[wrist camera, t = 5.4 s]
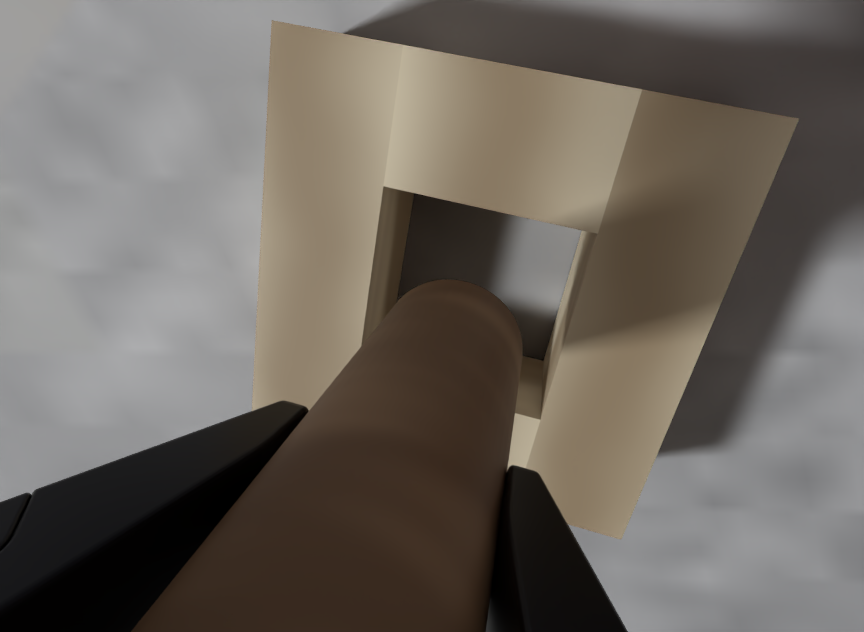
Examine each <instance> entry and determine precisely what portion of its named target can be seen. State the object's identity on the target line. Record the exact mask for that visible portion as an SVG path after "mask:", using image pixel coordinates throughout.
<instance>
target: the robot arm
mask: <svg viewBox="0 0 864 632" xmlns="http://www.w3.org/2000/svg"><path fill="white" fill-rule="evenodd" d="M308 412H309V410H308V408H307V407H306V406H303V405H300V404H296V403H293V402H289V401H285V400H282V401H278V402H275V403H273V404H270V405H267V406H264V407H262V408H259V409H256V410H253V411H251V412H248V413H245V414H242V415H240V416H237V417H234V418H231V419H229V420H226V421H223V422H220V423H218V424H215V425H212V426H209V427H207V428H204V429H201V430H198V431H196V432H193V433H190V434H187V435H185V436H182V437H179V438H176V439H174V440H171V441H168V442H165V443H163V444H160V445H157V446H154V447H152V448H149V449H146V450H143V451H141V452H138V453H135V454H132V455H130V456H127V457H124V458H121V459H119V460H116V461H113V462H110V463H108V464H105V465H102V466H99V467H96V468H94V469H91V470H88V471H85V472H83V473H80V474H77V475H74V476H72V477H69V478H66V479H63V480H61V481H58V482H55V483H52V484H50V485H47V486H44V487H41V488H38V489H36V490H35V491H34V492H33V493H32V495H31V494H30V493H24V494H22V495H19V496H16V497H13V498H11V499H8V500H5V501H2V502H0V632H131V631H132V630H133V628H134V627H135V626H136V625H137V623H138V622H139V621H140V620H141V618H142V617H143V616H144V615H145V614H146V612H147V611H148V610H149V609H150V607H151V606H152V605H153V604H154V602H155V601H156V600H157V599H158V597H159V596H160V595H161V594H162V592H163V591H164V590H165V589H166V588H167V586H168V585H169V584H170V583H171V581H172V580H173V579H174V578H175V576H176V575H177V574H178V573H179V571H180V570H181V569H182V568H183V566H184V565H185V564H186V563H187V562H188V560H189V559H190V558H191V557H192V555H193V554H194V553H195V552H196V550H197V549H198V548H199V547H200V545H201V544H202V543H203V542H204V540H205V539H206V538H207V537H208V536H209V534H210V533H211V532H212V531H213V529H214V528H215V527H216V526H217V524H218V523H219V522H220V521H221V519H222V518H223V517H224V516H225V514H226V513H227V512H228V511H229V510H230V508H231V507H232V506H233V505H234V503H235V502H236V501H237V500H238V498H239V497H240V496H241V495H242V493H243V492H244V491H245V490H246V488H247V487H248V486H249V485H250V484H251V482H252V481H253V480H254V479H255V477H256V476H257V475H258V474H259V472H260V471H261V470H262V469H263V467H264V466H265V465H266V464H267V462H268V461H269V460H270V459H271V458H272V456H273V455H274V454H275V453H276V451H277V450H278V449H279V448H280V446H281V445H282V444H283V443H284V441H285V440H286V439H287V438H288V436H289V435H290V434H291V433H292V432H293V430H294V429H295V428H296V427H297V425H298V424H299V423H300V422H301V420H302V419H303V418H304V417H305V415H306V414H307V413H308ZM486 632H628V631H627V629H626V628H625V626H624V624H623V622H622V621H621V619H620V617H619V615H618V613H617V612H616V610H615V608H614V606H613V604H612V603H611V601H610V599H609V597H608V596H607V594H606V592H605V590H604V588H603V587H602V585H601V583H600V581H599V579H598V578H597V576H596V574H595V572H594V570H593V569H592V567H591V565H590V563H589V562H588V560H587V558H586V556H585V554H584V553H583V551H582V549H581V547H580V545H579V544H578V542H577V540H576V538H575V537H574V535H573V533H572V531H571V529H570V528H569V526H568V524H567V522H566V520H565V519H564V517H563V515H562V513H561V511H560V510H559V508H558V506H557V504H556V503H555V501H554V499H553V497H552V495H551V494H550V492H549V490H548V488H547V486H546V485H545V483H544V481H543V479H542V478H541V476H540V474H539V473H538V472H536V471H534V470H530V469H527V468H523V467H519V466H516V465H511V466H510V467H509V468H508V470H507V473H506V480H505V487H504V495H503V502H502V509H501V517H500V524H499V532H498V539H497V548H496V557H495V566H494V573H493V581H492V588H491V596H490V603H489V611H488V618H487V626H486Z"/></svg>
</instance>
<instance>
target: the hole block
mask: <svg viewBox="0 0 864 632" xmlns="http://www.w3.org/2000/svg"><path fill="white" fill-rule="evenodd" d="M798 121H799V119H798V118H793V117H787V116H782V115H777V114H771V113H766V112H760V111H755V110H750V109H744V108H739V107H734V106H728V105H723V104H718V103H712V102H707V101H701V100H696V99H691V98H685V97H680V96H675V95H669V94H664V93H659V92H653V91H648V90H643V89H637V88H632V87H626V86H621V85H616V84H610V83H605V82H600V81H594V80H589V79H584V78H578V77H573V76H567V75H562V74H557V73H551V72H546V71H541V70H535V69H530V68H525V67H519V66H514V65H508V64H503V63H498V62H492V61H487V60H482V59H476V58H471V57H466V56H460V55H455V54H449V53H444V52H439V51H433V50H428V49H423V48H417V47H412V46H407V45H401V44H396V43H390V42H385V41H380V40H374V39H369V38H364V37H358V36H353V35H348V34H342V33H337V32H331V31H326V30H321V29H315V28H310V27H305V26H299V25H294V24H289V23H283V22H278V21H273V20H272V26H271V46H270V66H269V85H268V105H267V124H266V144H265V163H264V183H263V203H262V222H261V242H260V261H259V281H258V301H257V320H256V340H255V359H254V379H253V399H252V411H253V410H256V409H259V408H262V407H264V406H267V405H270V404H273V403H275V402H278V401H282V400H285V401H289V402H293V403H296V404H300V405H303V406H306V407H307V408H308V410H310V409H311V408H312V407H313V406H314V404H315V403H316V402H317V401H318V399H319V398H320V397H321V396H322V394H323V393H324V392H325V391H326V389H327V388H328V387H329V386H330V384H331V383H332V382H333V381H334V380H335V378H336V377H337V376H338V375H339V373H340V372H341V371H342V370H343V368H344V367H345V366H346V365H347V363H348V362H349V361H350V360H351V358H352V357H353V356H354V355H355V354H356V352H357V351H358V350H359V349H360V347H361V346H362V345H363V344H364V342H365V341H366V340H367V339H368V337H369V336H370V335H371V334H372V332H373V331H374V330H375V329H376V328H377V326H378V325H379V324H380V323H381V321H382V320H383V319H384V318H385V316H386V315H387V314H388V313H389V311H390V310H391V309H392V308H393V306H394V305H395V304H396V303H397V296H398V290H399V284H400V278H401V272H402V266H403V259H404V253H405V247H406V241H407V235H408V229H409V223H410V216H411V210H412V204H413V198H414V193H416V194H421V195H425V196H430V197H434V198H439V199H443V200H448V201H452V202H457V203H461V204H466V205H470V206H475V207H479V208H484V209H488V210H493V211H497V212H502V213H506V214H511V215H515V216H520V217H524V218H529V219H533V220H538V221H542V222H547V223H551V224H556V225H560V226H565V227H569V228H574V229H578V230H582V232H581V235H580V239H579V242H578V245H577V249H576V252H575V256H574V259H573V262H572V266H571V269H570V273H569V276H568V279H567V283H566V286H565V290H564V293H563V296H562V300H561V303H560V307H559V310H558V313H557V317H556V320H555V324H554V327H553V330H552V334H551V337H550V341H549V344H548V347H547V351H546V354H545V357H544V361H541V360H537V359H534V358H530V357H526V356H522V364H521V371H520V379H519V386H518V394H517V401H516V409H515V416H514V424H513V431H512V439H511V446H510V454H509V461H508V468H509V467H510V466H511V465H516V466H519V467H523V468H527V469H530V470H534V471H536V472H538V473H539V474H540V476H541V478H542V479H543V481H544V483H545V485H546V486H547V488H548V490H549V492H550V494H551V495H552V497H553V499H554V501H555V503H556V504H557V506H558V508H559V510H560V511H561V513H562V515H563V517H564V519H565V520H566V522H567V524H569V525H573V526H576V527H579V528H583V529H586V530H590V531H593V532H597V533H600V534H604V535H607V536H610V537H614V538H617V539H622V536H623V534H624V532H625V529H626V527H627V525H628V522H629V520H630V517H631V515H632V513H633V510H634V508H635V506H636V503H637V501H638V499H639V496H640V494H641V491H642V489H643V487H644V484H645V482H646V480H647V477H648V475H649V473H650V470H651V468H652V466H653V463H654V461H655V458H656V456H657V454H658V451H659V449H660V447H661V444H662V442H663V440H664V437H665V435H666V432H667V430H668V428H669V425H670V423H671V421H672V418H673V416H674V414H675V411H676V409H677V407H678V404H679V402H680V399H681V397H682V395H683V392H684V390H685V388H686V385H687V383H688V381H689V378H690V376H691V373H692V371H693V369H694V366H695V364H696V362H697V359H698V357H699V355H700V352H701V350H702V347H703V345H704V343H705V340H706V338H707V336H708V333H709V331H710V329H711V326H712V324H713V322H714V319H715V317H716V314H717V312H718V310H719V307H720V305H721V303H722V300H723V298H724V296H725V293H726V291H727V288H728V286H729V284H730V281H731V279H732V277H733V274H734V272H735V270H736V267H737V265H738V263H739V260H740V258H741V255H742V253H743V251H744V248H745V246H746V244H747V241H748V239H749V237H750V234H751V232H752V229H753V227H754V225H755V222H756V220H757V218H758V215H759V213H760V211H761V208H762V206H763V203H764V201H765V199H766V196H767V194H768V192H769V189H770V187H771V185H772V182H773V180H774V178H775V175H776V173H777V170H778V168H779V166H780V163H781V161H782V159H783V156H784V154H785V152H786V149H787V147H788V144H789V142H790V140H791V137H792V135H793V133H794V130H795V128H796V126H797V123H798ZM507 470H508V469H507Z"/></svg>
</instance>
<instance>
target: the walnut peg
mask: <svg viewBox="0 0 864 632" xmlns="http://www.w3.org/2000/svg"><path fill="white" fill-rule="evenodd" d="M522 356H523V344H522V337H521V333H520V329H519V327H518V324H517V322H516V320H515V318H514V316H513V315H512V313H511V312H510V310H509V309H508V308H507V306H506V305H505V304H504V303H503V302H502V301H501V300H500V299H499V298H497V297H496V296H495V295H494V294H492V293H491V292H489V291H487V290H486V289H484V288H482V287H480V286H477V285H475V284H472V283H469V282H466V281H460V280H450V279H445V280H435V281H431V282H427V283H424V284H421V285H419V286H417V287H415V288H413V289H411V290H410V291H409V292H407V293H406V294H405V295H403V296H402V297H401V298H400V299H399V300H398V302H397V303H396V304H395V305H394V306H393V308H392V309H391V310H390V311H389V313H388V314H387V315H386V316H385V318H384V319H383V320H382V321H381V323H380V324H379V325H378V326H377V328H376V329H375V330H374V331H373V332H372V334H371V335H370V336H369V337H368V339H367V340H366V341H365V342H364V344H363V345H362V346H361V347H360V349H359V350H358V351H357V352H356V354H355V355H354V356H353V357H352V358H351V360H350V361H349V362H348V363H347V365H346V366H345V367H344V368H343V370H342V371H341V372H340V373H339V375H338V376H337V377H336V378H335V380H334V381H333V382H332V383H331V384H330V386H329V387H328V388H327V389H326V391H325V392H324V393H323V394H322V396H321V397H320V398H319V399H318V401H317V402H316V403H315V404H314V406H313V407H312V408H311V409H310V410H309V412H308V413H307V414H306V415H305V417H304V418H303V419H302V420H301V422H300V423H299V424H298V425H297V427H296V428H295V429H294V430H293V432H292V433H291V434H290V435H289V436H288V438H287V439H286V440H285V441H284V443H283V444H282V445H281V446H280V448H279V449H278V450H277V451H276V453H275V454H274V455H273V456H272V458H271V459H270V460H269V461H268V462H267V464H266V465H265V466H264V467H263V469H262V470H261V471H260V472H259V474H258V475H257V476H256V477H255V479H254V480H253V481H252V482H251V484H250V485H249V486H248V487H247V488H246V490H245V491H244V492H243V493H242V495H241V496H240V497H239V498H238V500H237V501H236V502H235V503H234V505H233V506H232V507H231V508H230V510H229V511H228V512H227V513H226V514H225V516H224V517H223V518H222V519H221V521H220V522H219V523H218V524H217V526H216V527H215V528H214V529H213V531H212V532H211V533H210V534H209V536H208V537H207V538H206V539H205V540H204V542H203V543H202V544H201V545H200V547H199V548H198V549H197V550H196V552H195V553H194V554H193V555H192V557H191V558H190V559H189V560H188V562H187V563H186V564H185V565H184V566H183V568H182V569H181V570H180V571H179V573H178V574H177V575H176V576H175V578H174V579H173V580H172V581H171V583H170V584H169V585H168V586H167V588H166V589H165V590H164V591H163V592H162V594H161V595H160V596H159V597H158V599H157V600H156V601H155V602H154V604H153V605H152V606H151V607H150V609H149V610H148V611H147V612H146V614H145V615H144V616H143V617H142V618H141V620H140V621H139V622H138V623H137V625H136V626H135V627H134V628H133V630H132V631H131V632H486V626H487V618H488V611H489V603H490V596H491V588H492V581H493V573H494V566H495V557H496V548H497V539H498V532H499V524H500V517H501V509H502V502H503V495H504V487H505V480H506V473H507V469H508V461H509V454H510V446H511V439H512V431H513V424H514V416H515V409H516V401H517V394H518V386H519V379H520V371H521V364H522Z"/></svg>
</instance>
